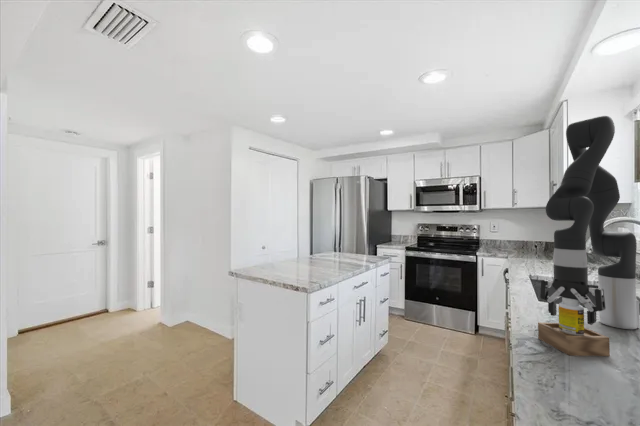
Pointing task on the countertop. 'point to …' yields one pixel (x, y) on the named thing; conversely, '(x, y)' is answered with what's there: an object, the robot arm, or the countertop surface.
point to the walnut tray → (574, 341)
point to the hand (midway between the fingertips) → (571, 319)
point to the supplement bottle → (571, 317)
